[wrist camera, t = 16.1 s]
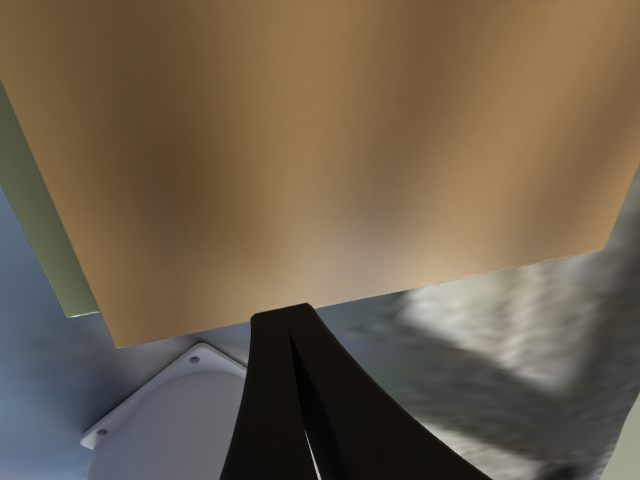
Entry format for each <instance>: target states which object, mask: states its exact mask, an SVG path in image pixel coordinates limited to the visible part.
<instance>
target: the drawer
mask: <svg viewBox="0 0 640 480" xmlns="http://www.w3.org/2000/svg"><path fill="white" fill-rule="evenodd" d="M0 184H1V186H2V188H3V190H4V192H5V194H6V196H7V198H8V200H9V202H10V204H11V206H12V208H13V210H14V212H15V214H16V216H17V218H18V220H19V222H20V224H21V226H22V228H23V230H24V232H25V234H26V237H27V239H28V241H29V243H30V245H31V247H32V249H33V251H34V253H35V255H36V257H37V259H38V261H39V263H40V265H41V267H42V269H43V271H44V273H45V275H46V277H47V279H48V281H49V283H50V285H51V287H52V289H53V291H54V293H55V295H56V297H57V299H58V301H59V304H60V306H61V308H62V310H63V312H64V314H65V316H66V317H67V318H71V317H77V316H82V315H87V314H93V313H98V312H100V310H99V308H98V306H97V304H96V301H95V299H94V297H93V294H92V292H91V290H90V287H89V285H88V283H87V280H86V278H85V276H84V273H83V271H82V269H81V266H80V264H79V262H78V259H77V257H76V255H75V252H74V250H73V248H72V245H71V243H70V241H69V238H68V236H67V234H66V231H65V229H64V227H63V224H62V222H61V220H60V217H59V215H58V213H57V210H56V208H55V206H54V203H53V201H52V199H51V196H50V194H49V192H48V189H47V187H46V185H45V182H44V180H43V178H42V175H41V173H40V171H39V168H38V166H37V164H36V161H35V159H34V157H33V154H32V152H31V150H30V147H29V145H28V143H27V140H26V138H25V136H24V133H23V131H22V129H21V126H20V124H19V122H18V119H17V117H16V115H15V112H14V110H13V108H12V105H11V103H10V101H9V98H8V96H7V94H6V91H5V89H4V87H3V84H2V82H1V80H0Z"/></svg>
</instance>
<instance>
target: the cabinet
mask: <svg viewBox="0 0 640 480" xmlns="http://www.w3.org/2000/svg"><path fill="white" fill-rule="evenodd" d="M0 80H1V82H2V84H3V87H4V89H5V91H6V94H7V96H8V98H9V101H10V103H11V105H12V108H13V110H14V112H15V115H16V117H17V119H18V122H19V124H20V126H21V129H22V131H23V133H24V136H25V138H26V140H27V143H28V145H29V147H30V150H31V152H32V154H33V157H34V159H35V161H36V164H37V166H38V168H39V171H40V173H41V175H42V178H43V180H44V182H45V185H46V187H47V189H48V192H49V194H50V196H51V199H52V201H53V203H54V206H55V208H56V210H57V213H58V215H59V217H60V220H61V222H62V224H63V227H64V229H65V231H66V234H67V236H68V238H69V241H70V243H71V245H72V248H73V250H74V252H75V255H76V257H77V259H78V262H79V264H80V266H81V269H82V271H83V273H84V276H85V278H86V280H87V283H88V285H89V287H90V290H91V292H92V294H93V297H94V299H95V301H96V304H97V306H98V308H99V310H100V313H101V315H102V317H103V320H104V322H105V324H106V327H107V329H108V331H109V334H110V336H111V338H112V341H113V343H114V345H115V348H123V347H128V346H132V345H137V344H142V343H147V342H152V341H157V340H162V339H167V338H172V337H177V336H182V335H187V334H192V333H197V332H201V331H206V330H211V329H216V328H221V327H226V326H231V325H236V324H241V323H246V322H251V321H250V318H251V317H252V316H253V315H254V314H255V313H260V312H264V311H269V310H274V309H279V308H283V307H288V306H293V305H298V304H302V303H308V304H310V305H312V307H313V308H314V309H315V308H320V307H325V306H330V305H334V304H339V303H344V302H349V301H354V300H359V299H364V298H369V297H374V296H379V295H384V294H389V293H394V292H399V291H403V290H408V289H413V288H418V287H423V286H428V285H433V284H438V283H443V282H448V281H453V280H458V279H463V278H468V277H472V276H477V275H482V274H487V273H492V272H497V271H502V270H507V269H512V268H517V267H522V266H527V265H532V264H536V263H541V262H546V261H551V260H556V259H561V258H566V257H571V256H576V255H581V254H586V253H591V252H596V251H601V250H604V249H605V247H606V244H607V242H608V239H609V237H610V234H611V232H612V230H613V227H614V225H615V222H616V220H617V217H618V215H619V213H620V210H621V208H622V205H623V203H624V200H625V198H626V196H627V193H628V191H629V188H630V186H631V183H632V181H633V178H634V176H635V174H636V171H637V169H638V166H639V164H640V0H0Z"/></svg>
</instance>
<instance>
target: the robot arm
mask: <svg viewBox="0 0 640 480" xmlns="http://www.w3.org/2000/svg"><path fill="white" fill-rule="evenodd" d="M250 321H251V342H250V352H249V360H248V367H247V368H245V367H244V366H242V365H240V364H239V363H237V362H236V361H234V360H232V359H231V358H229V357H228V356H226V355H224V354H223V353H221V352H220V351H218V350H216V349H215V348H213V347H211V346H210V345H208V344H206V343H199V344H196V345H194V346H193V347H192V348H190V349H189V350H188V351H187V352H185V353H184V354H183V355H182V356H180V357H179V358H178V359H177V360H175V361H174V362H173V363H172V364H170V365H169V366H168V367H167V368H165V369H164V370H163V371H162V372H160V373H159V374H158V375H157V376H155V377H154V378H153V379H152V380H150V381H149V382H148V383H146V384H145V385H144V386H143V387H141V388H140V389H139V390H138V391H136V392H135V393H134V394H133V395H131V396H130V397H129V398H128V399H126V400H125V401H124V402H123V403H121V404H120V405H119V406H118V407H116V408H115V409H114V410H113V411H111V412H110V413H109V414H108V415H106V416H105V417H104V418H102V419H101V420H100V421H99V422H97V423H96V424H95V425H94V426H92V427H91V428H90V429H89V430H87V431H86V432H85V433H84V434H83V435H82V437H81V441H80V443H81V445H83V446H84V447H87V448H90V449H93V450H94V451H93V456H92V461H91V466H90V470H89V475H88V480H318V477H317V474H316V470H315V466H314V463H313V459H312V455H311V452H310V448H309V444H310V447H311V450H312V453H313V456H314V459H315V462H316V465H317V468H318V471H319V474H320V477H321V480H492V479H491V478H490V477H488V476H487V475H485V474H484V473H483V472H481V471H480V470H479V469H477V468H476V467H474V466H473V465H472V464H470V463H469V462H467V461H466V460H465V459H463V458H462V457H461V456H459V455H458V454H457V453H456V452H454V451H453V450H452V449H451V448H449V447H448V446H447V445H446V444H444V443H443V442H442V441H441V440H439V439H438V438H437V437H436V436H434V435H433V434H432V433H431V432H430V431H428V430H427V429H426V428H425V427H424V426H423V425H421V424H420V423H419V422H418V421H417V420H415V419H414V418H413V417H412V416H411V415H410V414H409V413H408V412H406V411H405V410H404V409H403V408H402V407H401V406H400V405H399V404H398V403H397V402H396V401H394V400H393V399H392V398H391V397H390V396H389V395H388V394H387V393H386V392H385V391H384V390H383V389H382V388H381V387H380V386H379V385H378V384H377V383H376V382H375V381H374V380H373V379H372V378H371V377H370V376H369V375H368V374H367V373H366V372H365V371H364V370H363V368H362V367H361V366H360V365H359V364H358V363H357V362H356V361H355V360H354V359H353V357H352V356H351V355H350V354H349V353H348V352H347V351H346V350H345V349H344V347H343V346H342V345H341V344H340V343H339V341H338V340H337V339H336V338H335V337H334V335H333V334H332V333H331V332H330V330H329V329H328V328H327V327H326V325H325V324H324V323H323V321H322V320H321V319H320V317H319V316H318V314H317V313H316V311H315V310H314V308H313V307H312V305H310V304H308V303H302V304H298V305H293V306H288V307H283V308H279V309H274V310H269V311H264V312H260V313H255V314H254V315H253V316H252V317H251V318H250ZM195 356H196V358H191V357H195ZM305 432H306V433H305ZM306 435H307V437H306ZM307 438H308V441H309V444H308V441H307Z"/></svg>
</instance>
